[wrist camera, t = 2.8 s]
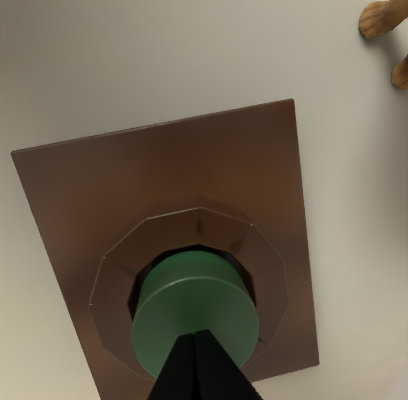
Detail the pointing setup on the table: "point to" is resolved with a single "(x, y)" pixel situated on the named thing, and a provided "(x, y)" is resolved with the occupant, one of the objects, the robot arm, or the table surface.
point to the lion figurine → (386, 30)
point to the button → (193, 308)
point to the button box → (176, 229)
